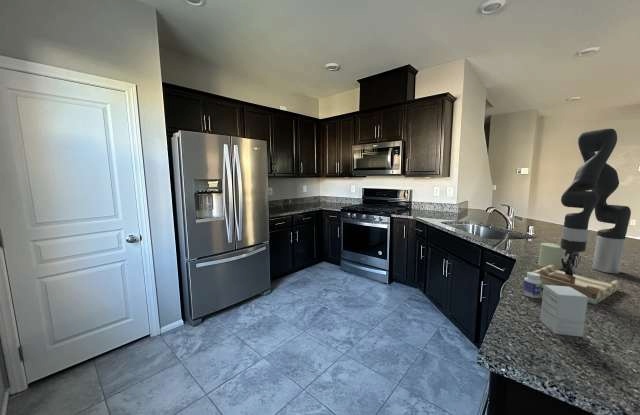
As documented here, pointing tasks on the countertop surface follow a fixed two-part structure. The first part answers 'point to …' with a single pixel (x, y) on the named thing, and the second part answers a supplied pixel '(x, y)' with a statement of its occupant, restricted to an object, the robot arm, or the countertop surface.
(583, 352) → the countertop surface
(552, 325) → the supplement box
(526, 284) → the pill bottle
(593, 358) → the countertop surface
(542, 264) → the can
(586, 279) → the board
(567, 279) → the block
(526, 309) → the countertop surface
